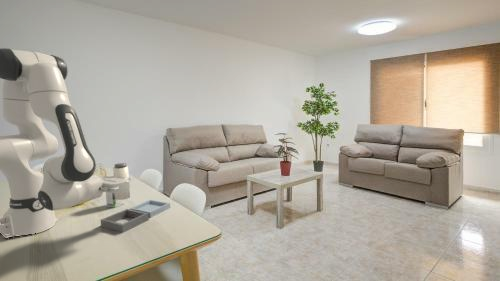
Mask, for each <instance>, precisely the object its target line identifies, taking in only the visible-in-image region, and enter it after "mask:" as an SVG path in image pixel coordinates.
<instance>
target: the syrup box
mask: <svg viewBox="0 0 500 281" xmlns="http://www.w3.org/2000/svg"><path fill="white" fill-rule="evenodd" d="M105 200H106V201H105V202H106V207H109V208H117V207H120V206H122V205H124V204H125V203H124V200H116V199H115V193H108V192H105Z"/></svg>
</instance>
